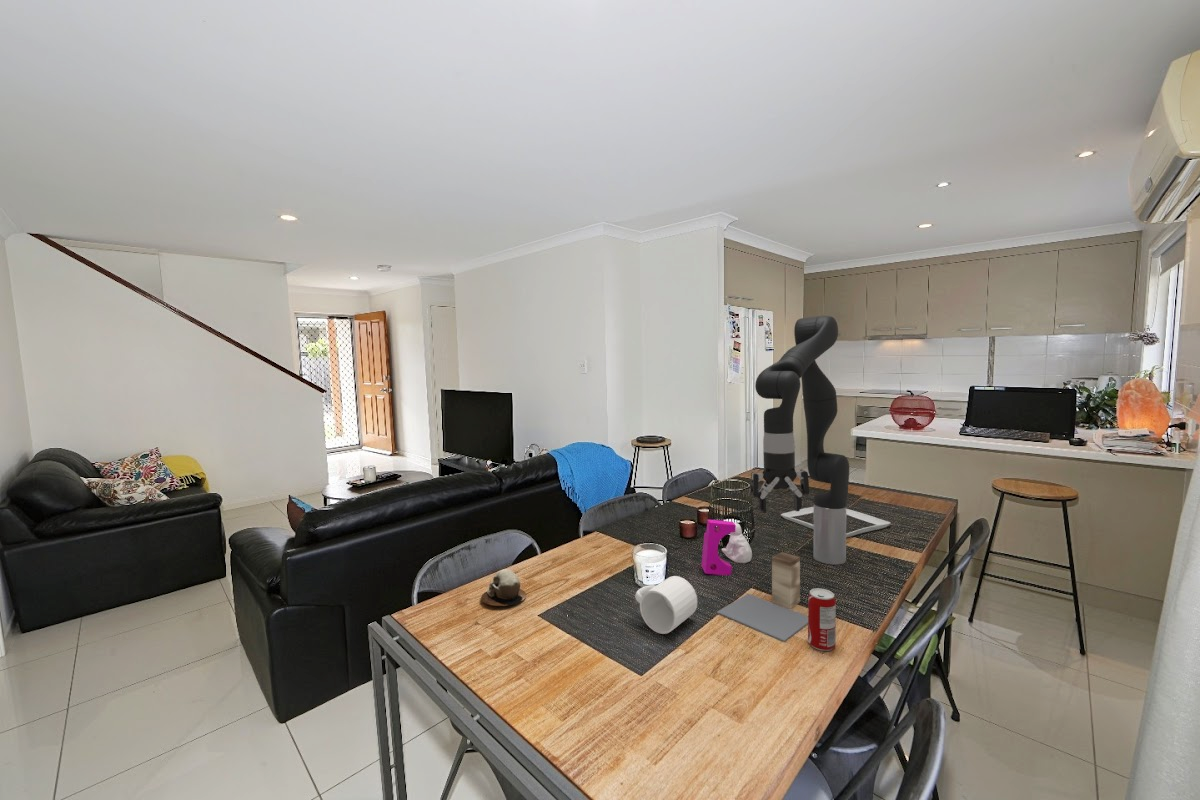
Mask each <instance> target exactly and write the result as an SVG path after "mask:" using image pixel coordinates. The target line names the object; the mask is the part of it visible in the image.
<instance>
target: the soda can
mask: <svg viewBox="0 0 1200 800" xmlns="http://www.w3.org/2000/svg"><path fill="white" fill-rule="evenodd" d="M807 601H808V603H807V609H808V610H807V616H808V624H807V642H808V644H809V645H810V646H811V647H812V648H814V649H816V650H818V651H822V652H828V651H833V649H834V648H835V647H836V642H837V641H836V640H837V639H836V632H837V631H836V628H837V627H836V626H837V623H836V622H837V621H836V619H837V614H836V613H837V607H836V606H837V601H836V598H835V593H833V592H832V591H830V590H829V589H825V588H821V587H820V588H819V587H818V588H817V587H816V588H811V590H809V594H808V597H807Z"/></svg>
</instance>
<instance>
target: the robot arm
mask: <svg viewBox="0 0 1200 800" xmlns="http://www.w3.org/2000/svg"><path fill="white" fill-rule="evenodd" d="M793 330H794V331H793V333H794V334H793V335H794V341H795V345H794V346H792V347H790V348H789V349H788V350H786V352H785V353H784V354H783V355H782V356H781V358H780V359H779V360H778V361H777V362H775V363H773V364H771V365H769V366H768V367H766V368H765V369H764V370H762V371H761V372H760V373H759V374H758V376H757V378H756V380H755V387H754V388H755V391H756V393H757V395H758V396H759V397H760V398H763V399H771V400H781V403H780V405H779V406H777V407H772V408H767V409H766V410H765V411H763V440H762V444H763V445H762V447H763V450H762V451H763V453H762V454H763V471H762V472H755V471H752V472H751V473H750V490H749V491H750V495H751V496H753V497H754V498H758V500H757V501H758V502H757V504H758V509H759V510H760V512H762V514H766V513H767V499H766V496H768V494H769V493H771V491H773V490H779V489H783V490H788V489H790V491H791V492H792V493H793V494H794V495H793V511H800V509H803V507H802V506H803V503H802V498H803V496H805V495H809V494H810V483H809V481H810V480H809V478H810V479H811V480H813V481H815V482H819V483H825V484H830V488H829V490H828V491H821V492H818V493H815V494H814V496H813V507H814V512H813V525H814V530H813V545H812V546H813V550H812V551H813V555H812V556H813V559H814V560H815V561H817V562H819V563H823V564H826V565H834V566H835V565H836V566H839V565H843V564H846V562H847V537H846V534H847V514H846V509H847V502H848V501H847V500H848V495H849V483H850V482H849V481H850V479H849V478H850V461H849V459H848V458H847V457H846V455H843V454H839V453H838V454H837V453H832V452H830V453H829V452H825V451H824V450H825V449H824V443H825V441H824V440H825V437H826V434H827V432H828V431H829V429H830V427H831V426H832V424H833V423H834V420H835V419H836V417H837V416H838V415H837V414H838V400H837V399H838V398H837V391H836V388H835V386H834V385H833V384H832V382H831V380H830V379H829V378H828V377H827V376H826V375H825V373H824V372H823V371H822V370H821V368H820V367H819V365H818V363H817V361H816V360H817V359H818V358H819V357H821V355H823V354H824V353H825V352H827V351H828V350H829V349H830V348H832V346H834V345H835V343H836V342H837V341H838V337H839V326H838V323H837V320H836V319H835V317H834V316H831V315H820V316H819V315H818V316H809V317H802V318H798V319H797V320H796V322H795V325H794V329H793ZM800 389H802V390H801V391H802V400H803V401H802V402H803V409H804V417H805V426H806V439H807V440H806V444H807V445H806V447H807V450H806V452H807V453H806V454H807V457H806V458H807V460H806V461H807V471H806V470H804V469H800V470H798V471H796V461H795V460H796V453H795V451H796V444H795V443H796V442H795V437H794V413H795V408H796V403H797V400H798V397H799V393H800ZM796 478H798V479H799V481H800V488H798V487H797V486H796V484H795V483H794V481H795V479H796ZM762 479H764V482H763V484H762V485H761V488H760V489H759V482H761V480H762Z"/></svg>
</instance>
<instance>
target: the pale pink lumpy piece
mask: <svg viewBox="0 0 1200 800" xmlns="http://www.w3.org/2000/svg"><path fill="white" fill-rule="evenodd" d="M733 523H734V524H735V525H736V528H735V532H731V533H729V540H728V543H727V545H726V547H723V548H721V551H722V553H723V554H724V555H725V556H726V558H728V559H729V560H730V561H733V562H734V563H739V564H747V563H750V562H751V560H752V558H753V552H752V548H751V546H750V544H749V542H748V541H747V540H746V539H747V538H746V537H745V536H744V534H743V533H742V532H743V530H742V527H741V525H740V524H739V523H738V522H733Z"/></svg>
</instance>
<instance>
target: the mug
mask: <svg viewBox="0 0 1200 800" xmlns="http://www.w3.org/2000/svg"><path fill="white" fill-rule="evenodd" d="M634 596H635V597H634V599H635V600H636V602H637V603H639V610H640V615H641V616H642V620H643V621H644V623H645V624H646V625H647V626H648V627H649V628H650V630H652V631H654V632H655V633H656V634H662V635H664V634H665V635H666V634H669V633H670V632H672V631H674V629H676V628H677V627H678V626H680V625H681V624H682V623H683V622H685V621H686V620H687V619H688V618H689V617H691V616H692V615H693V614H694V613H695V612H696V610H697V608H698V595H697V593H696V590H695V588H694V586H693V585H692V584H691V583H690V582H689V581H688V580H686V579H685V578H683V577H682V576H679V575H673V576H669V577H667V578H665V579H664V580H663V581H661V582H659V584H657V585H653V584H651V585H645V586H643V587H640V588H639V589H637V590H636V592H635V595H634Z"/></svg>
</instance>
